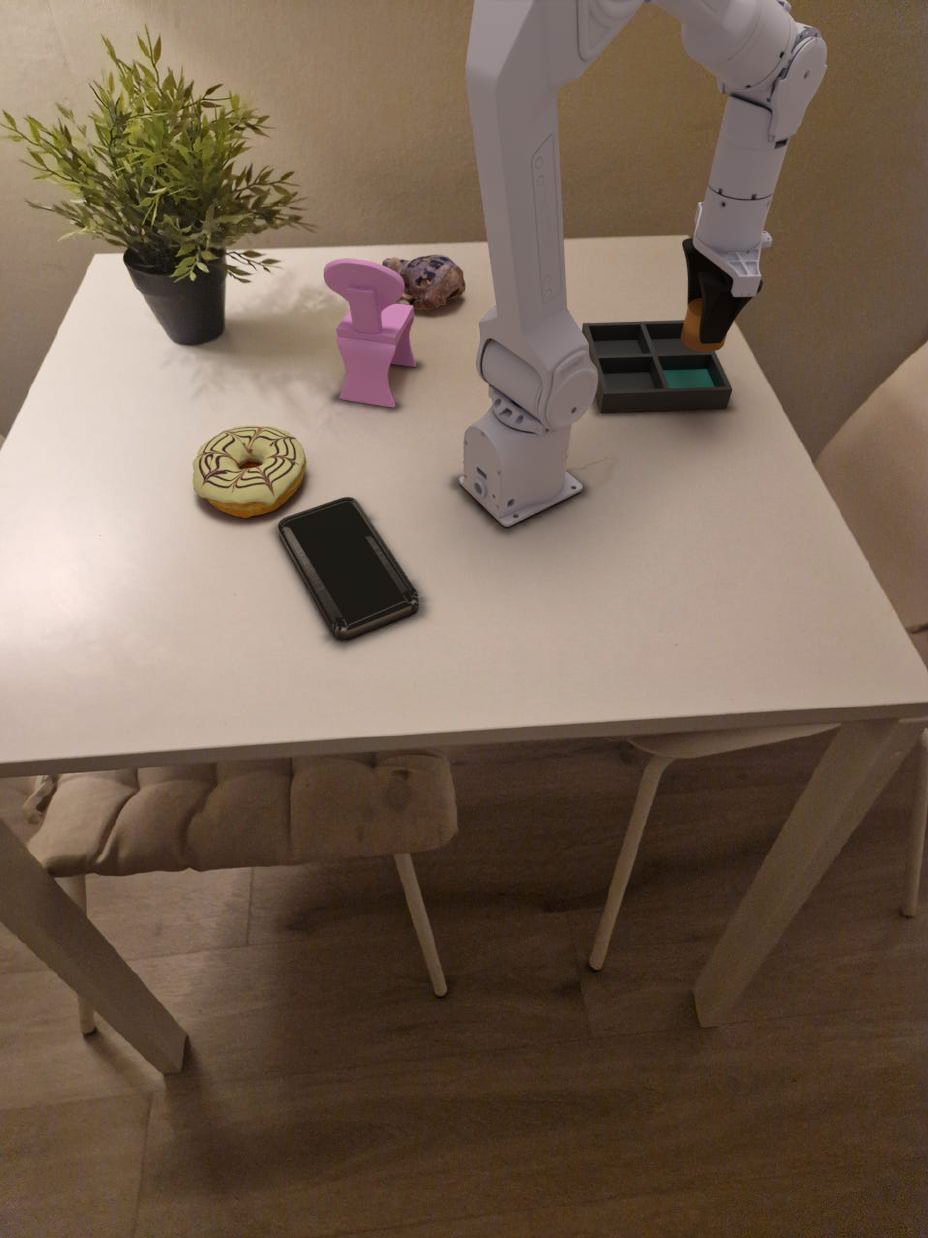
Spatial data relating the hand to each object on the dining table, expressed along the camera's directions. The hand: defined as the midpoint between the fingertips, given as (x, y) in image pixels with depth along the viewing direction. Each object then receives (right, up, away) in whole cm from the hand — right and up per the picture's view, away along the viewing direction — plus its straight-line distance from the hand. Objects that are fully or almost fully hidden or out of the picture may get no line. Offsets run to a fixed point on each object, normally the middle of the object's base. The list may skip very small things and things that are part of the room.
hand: (704, 328), depth 80 cm
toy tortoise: (-30, +12, +20) cm, 38 cm away
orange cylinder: (0, -1, +1) cm, 1 cm away
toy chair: (-34, -3, +9) cm, 35 cm away
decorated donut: (-45, -16, -2) cm, 48 cm away
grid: (-3, -2, +10) cm, 10 cm away
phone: (-35, -25, -10) cm, 44 cm away
